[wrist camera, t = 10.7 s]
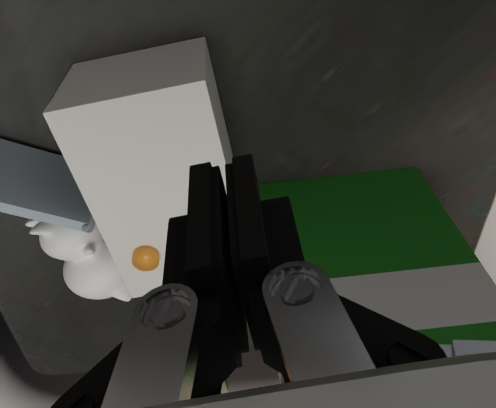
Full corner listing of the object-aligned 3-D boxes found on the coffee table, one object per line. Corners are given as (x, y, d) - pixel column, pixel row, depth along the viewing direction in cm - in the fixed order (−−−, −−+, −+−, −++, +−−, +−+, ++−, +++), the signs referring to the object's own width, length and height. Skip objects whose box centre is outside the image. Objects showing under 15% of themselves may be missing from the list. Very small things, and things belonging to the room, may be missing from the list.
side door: (-64, 129, 44) (-116, 183, 37) (-63, 105, 43) (-117, 156, 36) (108, 177, 49) (92, 233, 42) (114, 156, 47) (98, 211, 40)
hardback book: (415, 167, 52) (541, 353, 32) (407, 220, 56) (513, 411, 37) (254, 184, 51) (284, 382, 32) (258, 236, 56) (287, 437, 37)
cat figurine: (25, 250, 42) (102, 330, 49) (121, 178, 45) (182, 262, 52) (11, 220, 49) (80, 293, 56) (95, 159, 52) (152, 236, 59)
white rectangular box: (72, 64, 42) (38, 118, 34) (205, 36, 42) (205, 84, 33) (147, 245, 55) (137, 317, 47) (249, 226, 55) (257, 296, 46)
